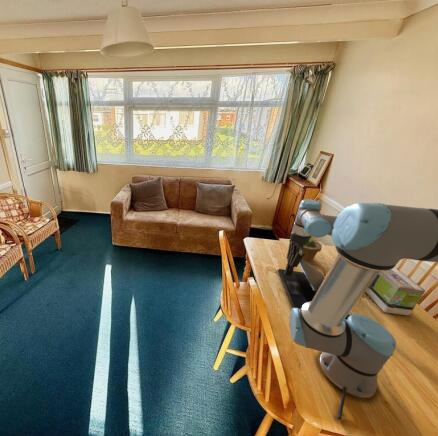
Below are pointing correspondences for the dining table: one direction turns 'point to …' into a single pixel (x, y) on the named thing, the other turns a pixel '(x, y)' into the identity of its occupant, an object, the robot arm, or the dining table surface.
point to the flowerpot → (311, 249)
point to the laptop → (297, 288)
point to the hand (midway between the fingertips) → (287, 274)
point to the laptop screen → (312, 275)
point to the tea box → (395, 292)
